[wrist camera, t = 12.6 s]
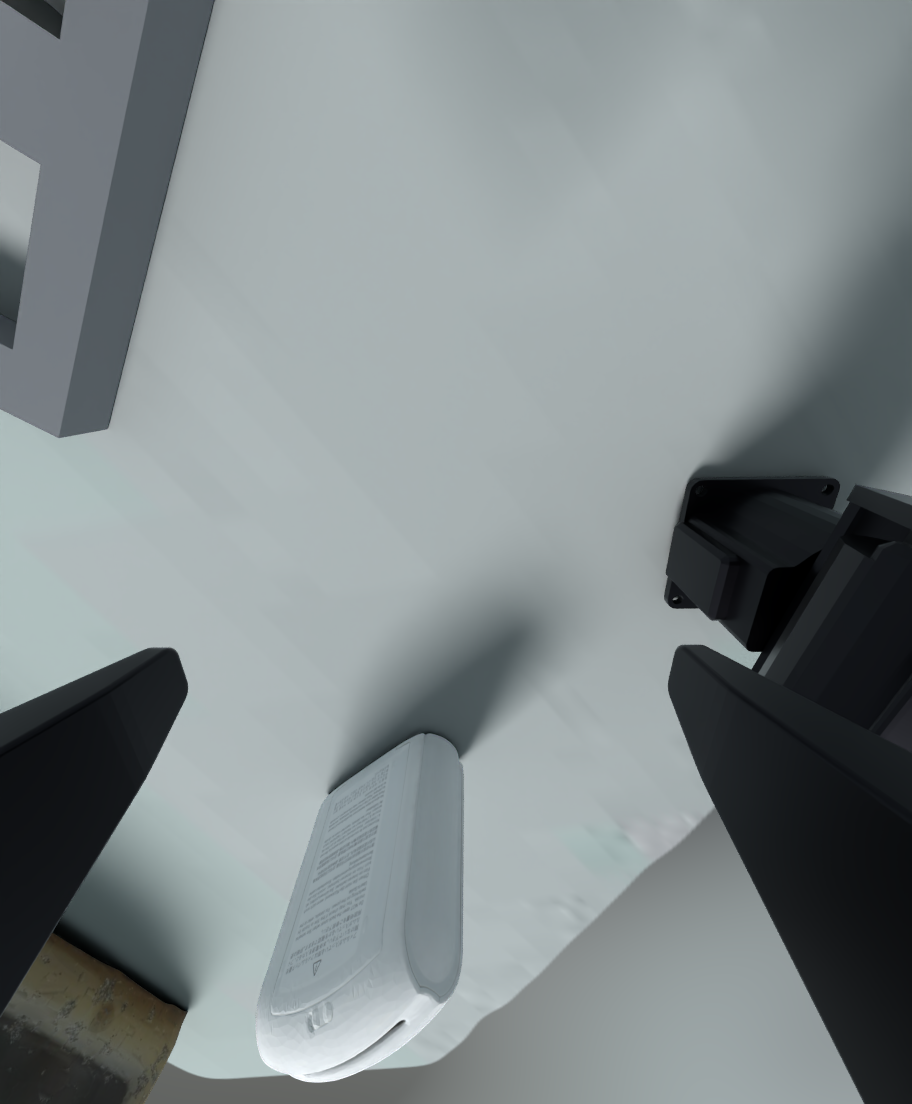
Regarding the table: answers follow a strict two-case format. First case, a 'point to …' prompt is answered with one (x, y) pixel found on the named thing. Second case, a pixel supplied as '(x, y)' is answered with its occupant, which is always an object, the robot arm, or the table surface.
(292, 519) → the table surface
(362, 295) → the table surface
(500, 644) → the table surface
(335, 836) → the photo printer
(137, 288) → the socket plate
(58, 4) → the plug
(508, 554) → the table surface
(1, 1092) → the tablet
